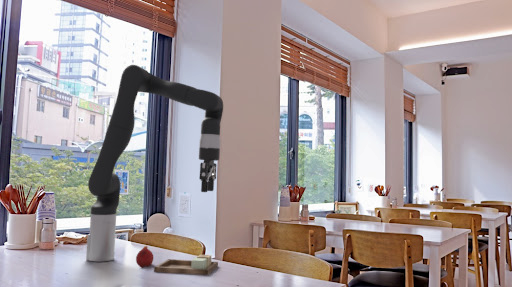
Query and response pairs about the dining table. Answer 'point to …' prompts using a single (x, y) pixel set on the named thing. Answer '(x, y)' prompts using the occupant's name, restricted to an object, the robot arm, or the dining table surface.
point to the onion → (144, 257)
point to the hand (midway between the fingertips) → (207, 191)
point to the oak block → (206, 258)
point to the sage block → (199, 263)
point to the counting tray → (183, 267)
